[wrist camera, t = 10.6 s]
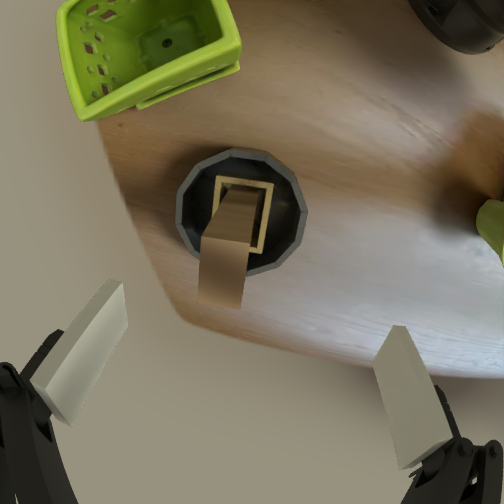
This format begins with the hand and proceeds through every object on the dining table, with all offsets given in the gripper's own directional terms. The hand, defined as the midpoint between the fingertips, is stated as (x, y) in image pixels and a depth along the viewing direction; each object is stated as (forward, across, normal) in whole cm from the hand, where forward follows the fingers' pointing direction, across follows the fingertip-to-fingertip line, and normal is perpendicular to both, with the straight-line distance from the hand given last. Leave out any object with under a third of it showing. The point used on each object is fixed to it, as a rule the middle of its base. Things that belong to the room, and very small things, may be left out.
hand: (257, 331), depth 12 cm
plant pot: (+22, +33, +5) cm, 40 cm away
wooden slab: (+21, -3, -1) cm, 21 cm away
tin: (+21, -3, -1) cm, 21 cm away
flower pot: (+22, -13, +17) cm, 30 cm away
